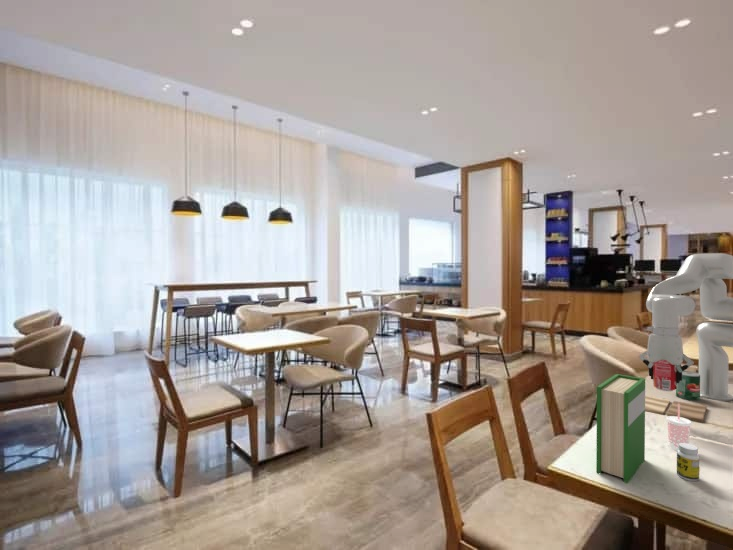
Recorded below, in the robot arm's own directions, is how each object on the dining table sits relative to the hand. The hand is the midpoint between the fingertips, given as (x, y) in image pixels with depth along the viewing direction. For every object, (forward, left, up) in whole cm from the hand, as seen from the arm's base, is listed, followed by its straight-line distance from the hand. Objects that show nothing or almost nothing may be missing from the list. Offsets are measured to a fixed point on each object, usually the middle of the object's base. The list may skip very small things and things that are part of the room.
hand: (665, 379), depth 143 cm
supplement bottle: (+43, -1, -15) cm, 45 cm away
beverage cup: (+24, 0, -15) cm, 28 cm away
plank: (-12, +9, -15) cm, 21 cm away
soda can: (0, 0, -4) cm, 4 cm away
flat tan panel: (-15, -1, -15) cm, 21 cm away
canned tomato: (-32, +12, -15) cm, 38 cm away
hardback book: (+44, -16, -15) cm, 50 cm away
